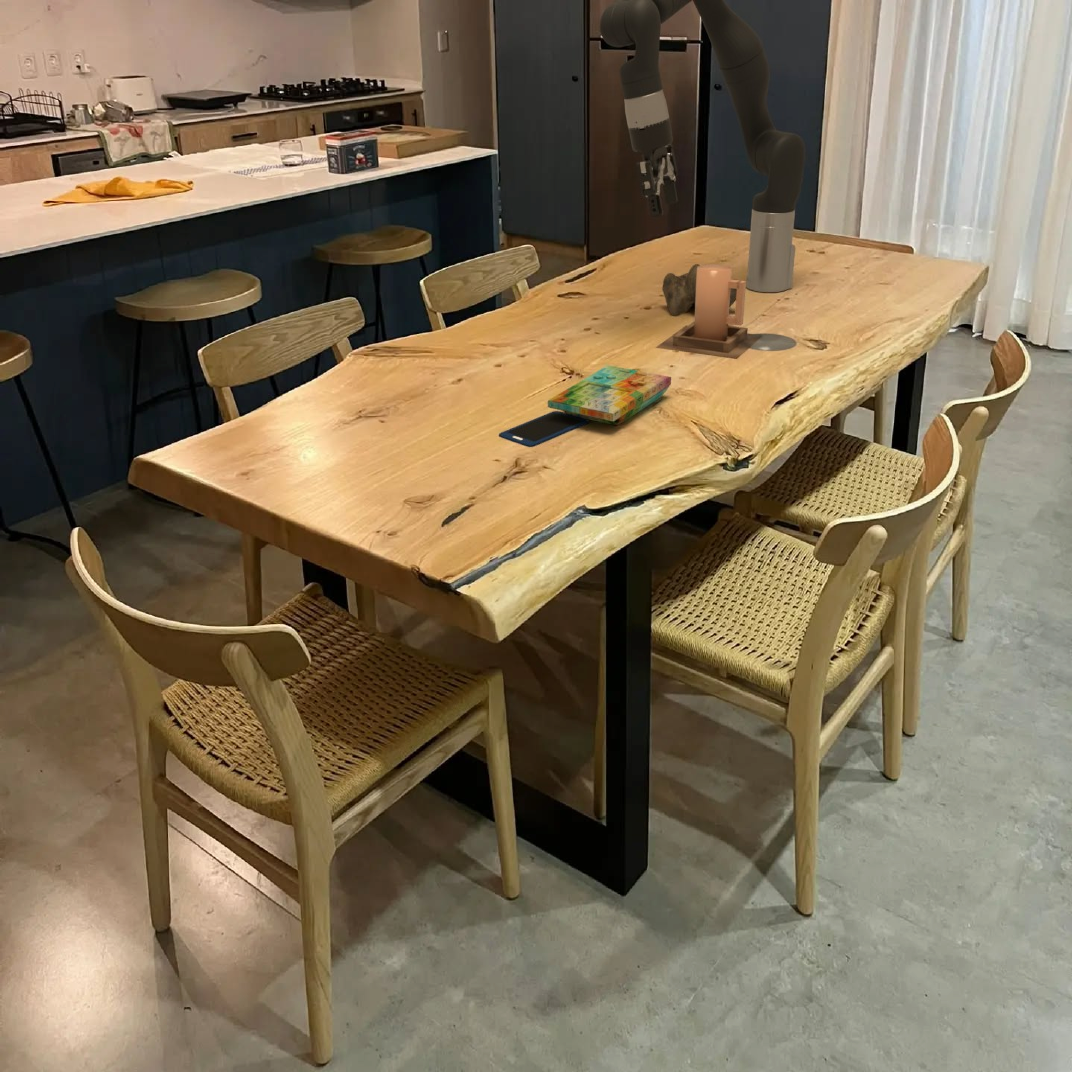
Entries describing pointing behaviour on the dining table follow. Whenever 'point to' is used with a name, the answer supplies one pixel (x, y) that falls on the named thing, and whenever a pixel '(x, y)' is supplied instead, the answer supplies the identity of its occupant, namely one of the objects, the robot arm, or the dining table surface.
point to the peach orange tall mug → (716, 302)
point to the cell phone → (543, 428)
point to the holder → (709, 342)
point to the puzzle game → (611, 394)
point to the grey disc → (770, 342)
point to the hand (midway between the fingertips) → (665, 209)
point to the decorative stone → (684, 291)
